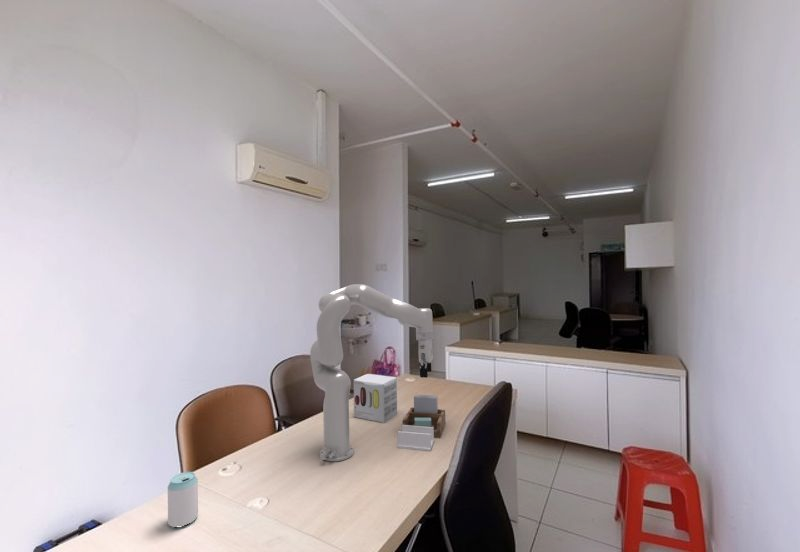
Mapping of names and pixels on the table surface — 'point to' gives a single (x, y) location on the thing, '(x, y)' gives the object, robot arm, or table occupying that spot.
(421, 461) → the table surface
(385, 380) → the supplement box
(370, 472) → the table surface
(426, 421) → the offcut top
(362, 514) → the table surface
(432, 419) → the box
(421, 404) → the sheet
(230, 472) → the table surface
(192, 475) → the can
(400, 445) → the stand
